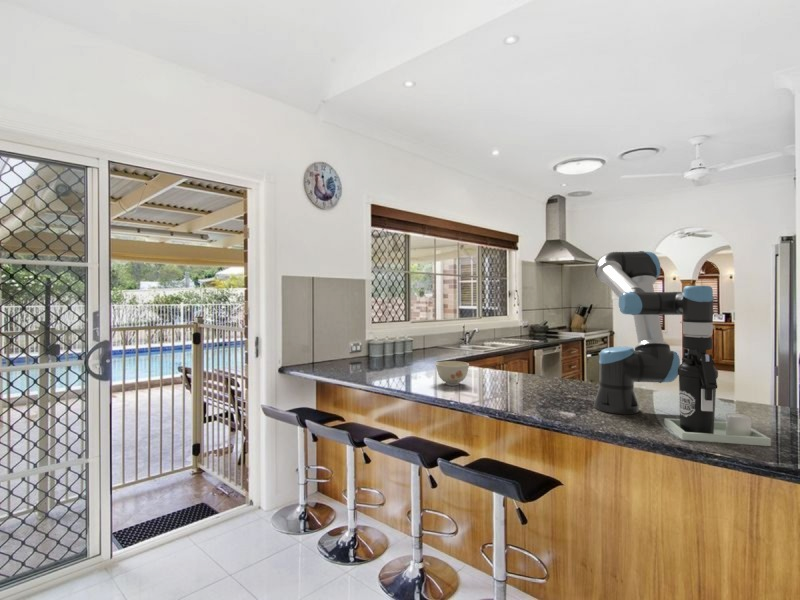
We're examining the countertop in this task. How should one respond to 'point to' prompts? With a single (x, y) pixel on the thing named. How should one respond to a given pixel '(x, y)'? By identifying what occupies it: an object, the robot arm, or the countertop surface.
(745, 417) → the white domed cylinder
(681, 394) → the water bottle
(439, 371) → the bowl
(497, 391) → the countertop surface
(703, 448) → the countertop surface
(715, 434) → the tray
